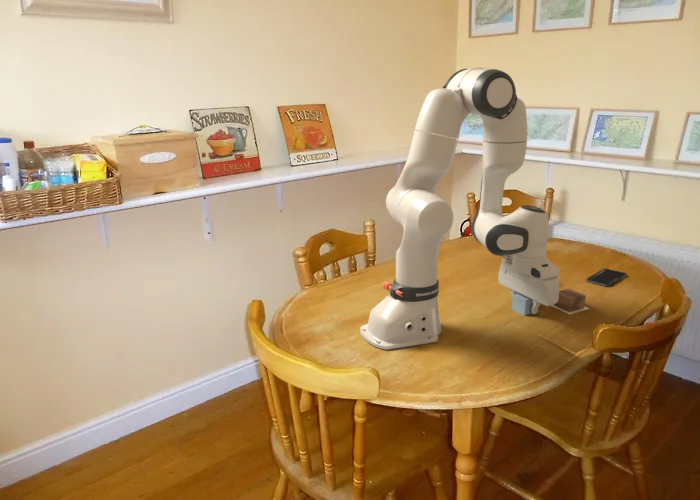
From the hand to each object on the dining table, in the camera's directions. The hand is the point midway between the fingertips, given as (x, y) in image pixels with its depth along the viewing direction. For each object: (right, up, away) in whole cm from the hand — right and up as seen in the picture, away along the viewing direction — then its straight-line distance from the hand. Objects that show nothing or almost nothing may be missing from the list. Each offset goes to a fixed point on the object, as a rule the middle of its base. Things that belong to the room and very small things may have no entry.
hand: (524, 308), depth 159 cm
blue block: (0, -2, +1) cm, 2 cm away
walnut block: (+13, 0, +2) cm, 14 cm away
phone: (+36, +7, +26) cm, 45 cm away
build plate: (+13, -1, +3) cm, 14 cm away
